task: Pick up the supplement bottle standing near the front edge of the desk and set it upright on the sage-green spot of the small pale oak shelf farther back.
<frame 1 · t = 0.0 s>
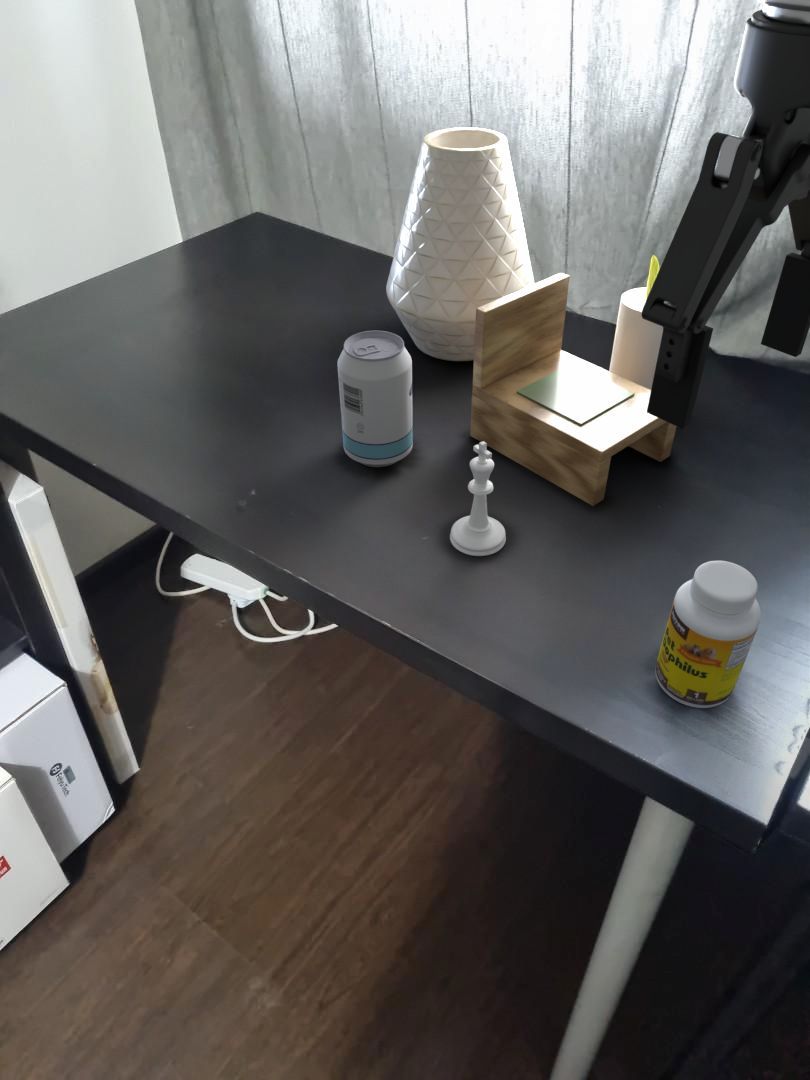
hand: (727, 382, 56), 19 cm above the table, tool pointing down, fingers open, 13 cm apart
supplement bottle: (692, 683, 60), on the table
candle: (635, 391, 92), on the table
shelf: (568, 445, 84), on the table
chess piece: (477, 539, 73), on the table
vase: (458, 341, 102), on the table
beverage can: (378, 455, 83), on the table
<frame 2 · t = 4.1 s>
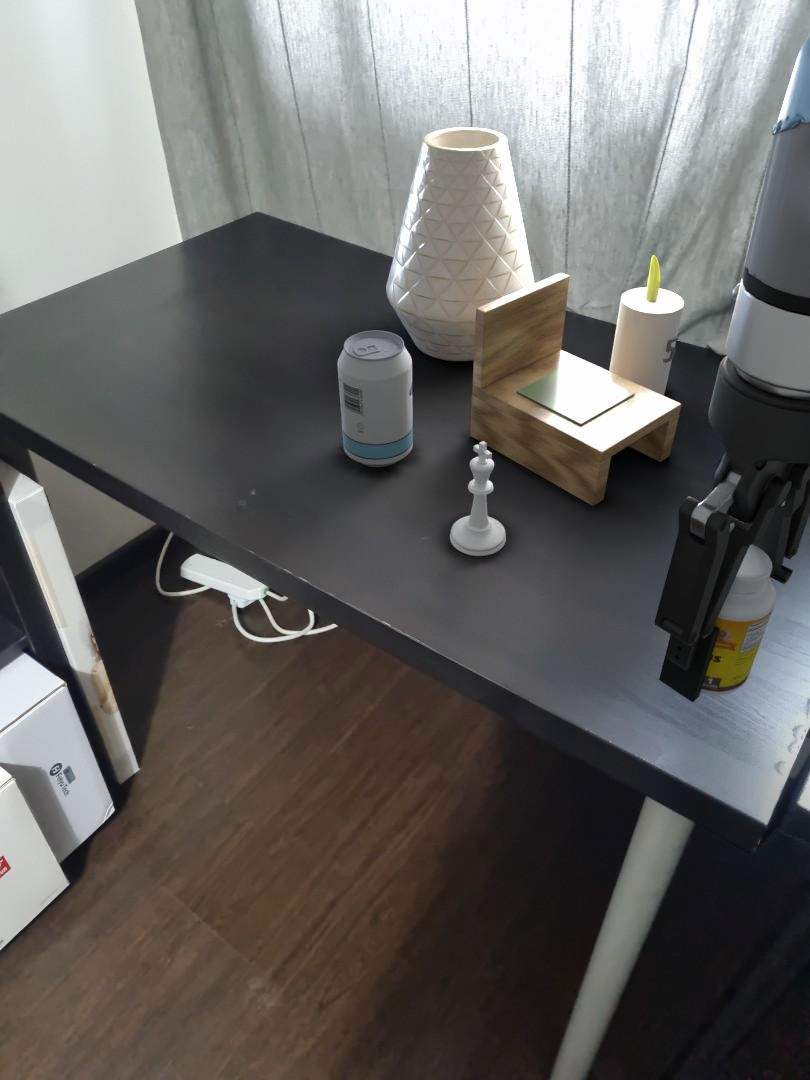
hand: (704, 664, 58), 3 cm above the table, tool pointing down, fingers closed on supplement bottle, 6 cm apart
supplement bottle: (705, 670, 58), point 2 cm above the table, touching gripper
everything else where it was.
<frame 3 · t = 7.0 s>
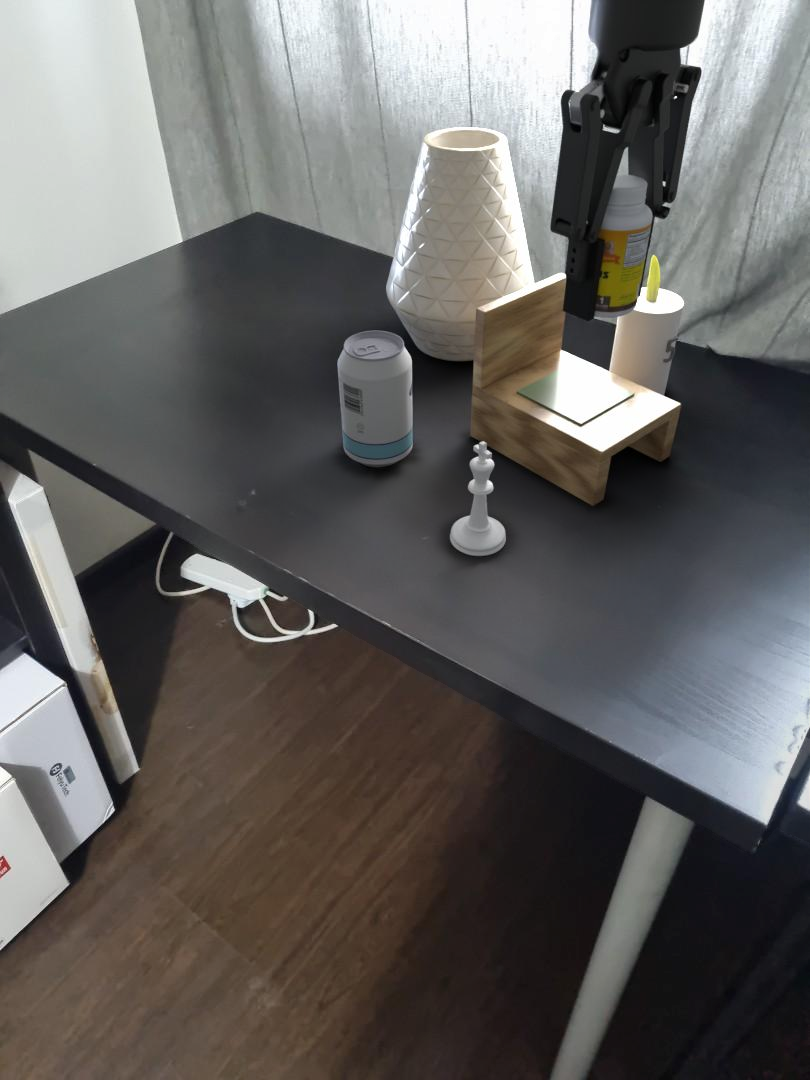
hand: (602, 302, 70), 17 cm above the table, tool pointing down, fingers closed on supplement bottle, 6 cm apart
supplement bottle: (602, 308, 70), point 16 cm above the table, touching gripper
everything else where it was.
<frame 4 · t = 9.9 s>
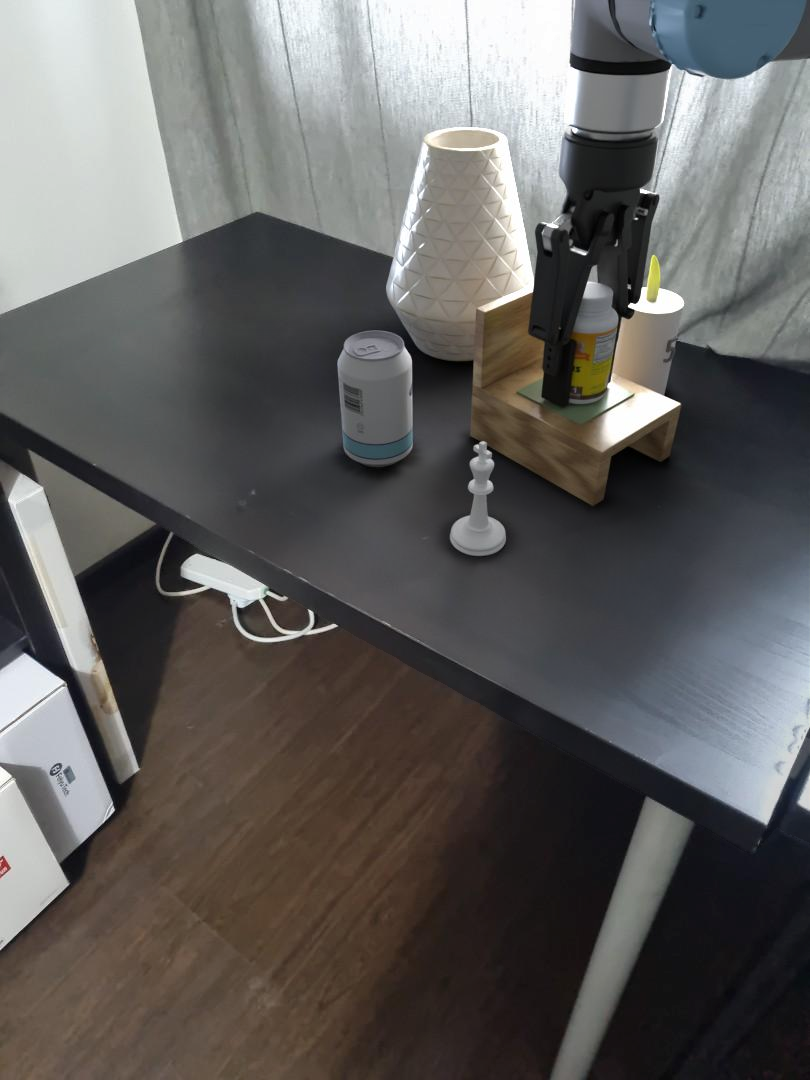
hand: (576, 389, 79), 7 cm above the table, tool pointing down, fingers closed on supplement bottle, 6 cm apart
supplement bottle: (576, 394, 79), point 6 cm above the table, touching gripper
everything else where it was.
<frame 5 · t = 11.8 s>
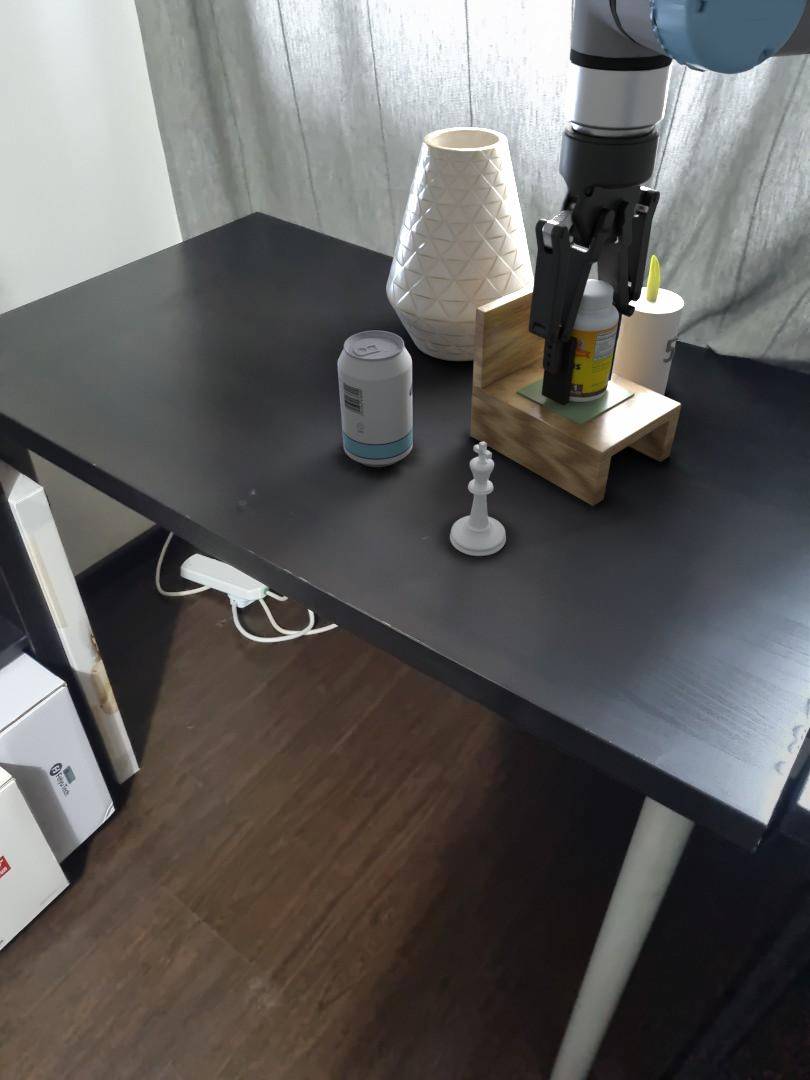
hand: (576, 386, 79), 7 cm above the table, tool pointing down, fingers closed on supplement bottle, 5 cm apart
supplement bottle: (577, 391, 79), point 6 cm above the table, touching gripper
everything else where it was.
when the fingers open (7 cm above the table, at t = 13.7 s): supplement bottle stays where it is, resting on shelf.
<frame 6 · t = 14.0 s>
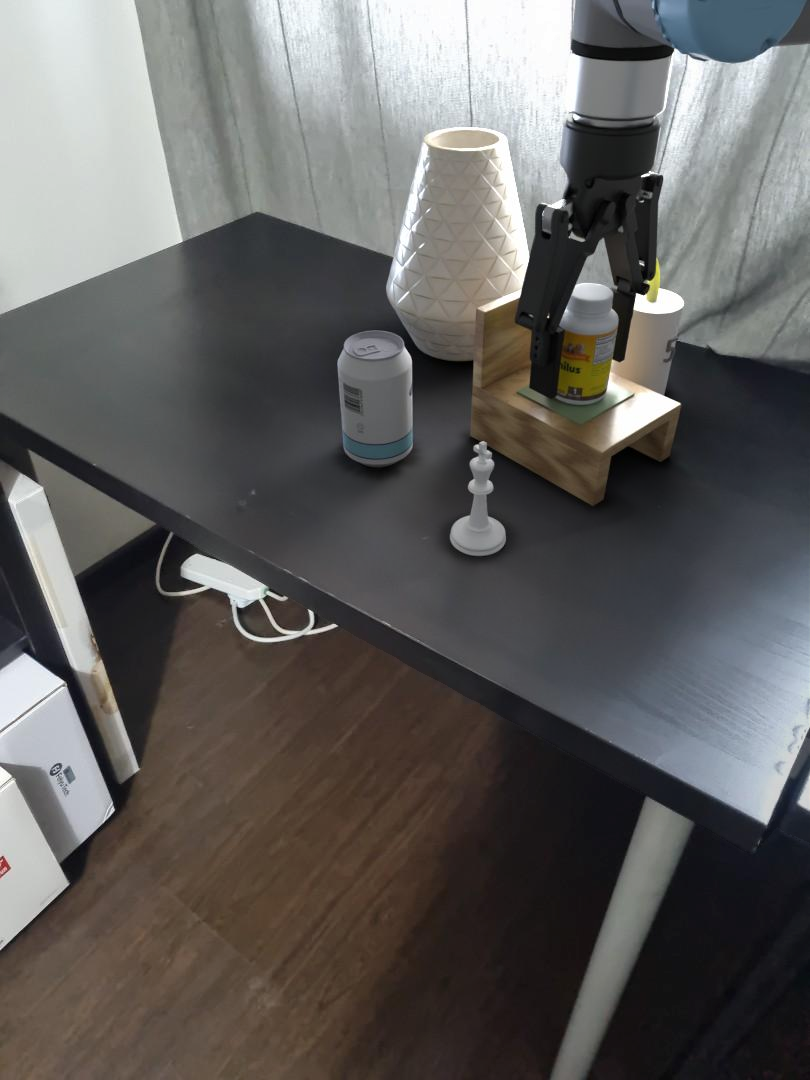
hand: (577, 373, 78), 8 cm above the table, tool pointing down, fingers open, 9 cm apart
supplement bottle: (576, 394, 80), point 6 cm above the table, touching shelf
everything else where it was.
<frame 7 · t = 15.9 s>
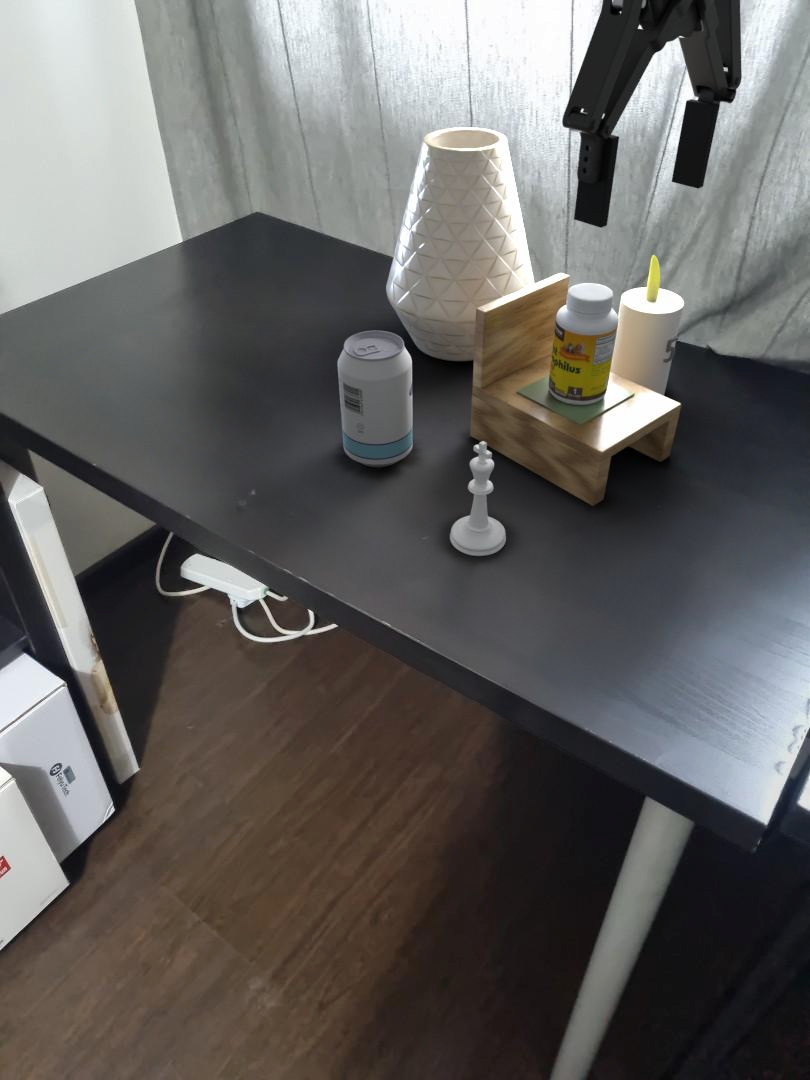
hand: (640, 202, 69), 24 cm above the table, tool pointing down, fingers open, 13 cm apart
nothing on the table moved.
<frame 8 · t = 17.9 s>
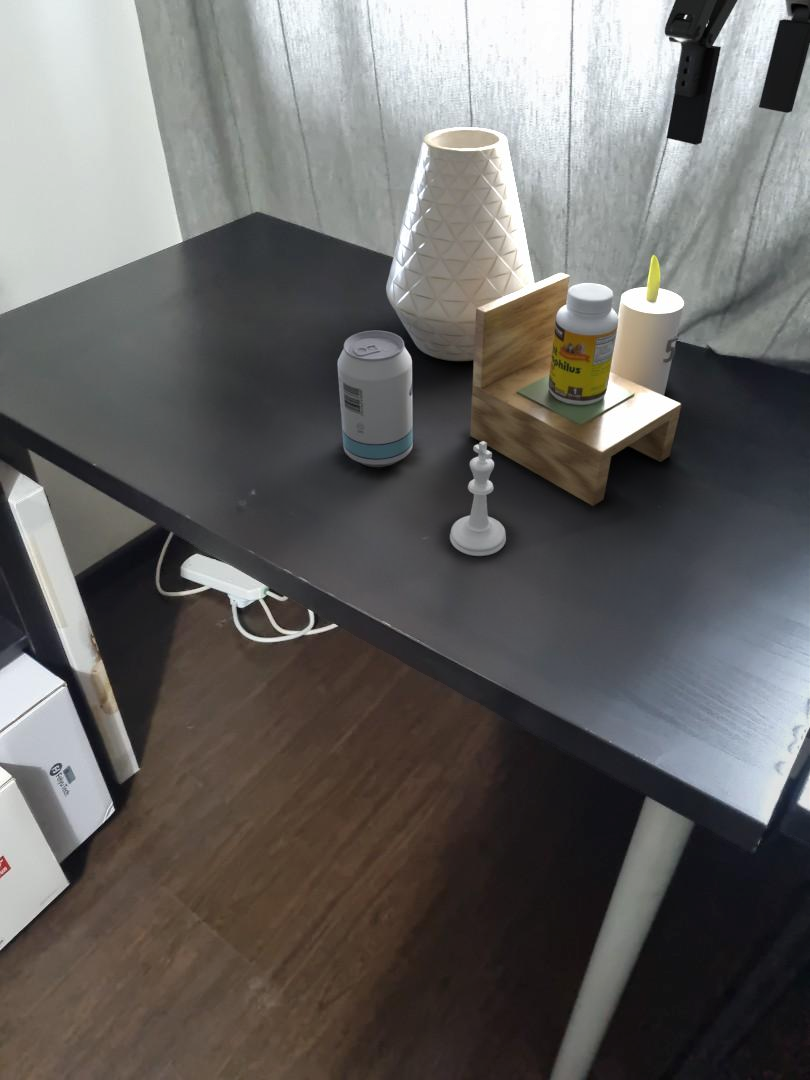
hand: (731, 124, 68), 29 cm above the table, tool pointing down, fingers open, 13 cm apart
nothing on the table moved.
at the end: supplement bottle 0.2 cm off-centre on the shelf, point 6.0 cm above the shelf's base; supplement bottle tilted 0° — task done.
